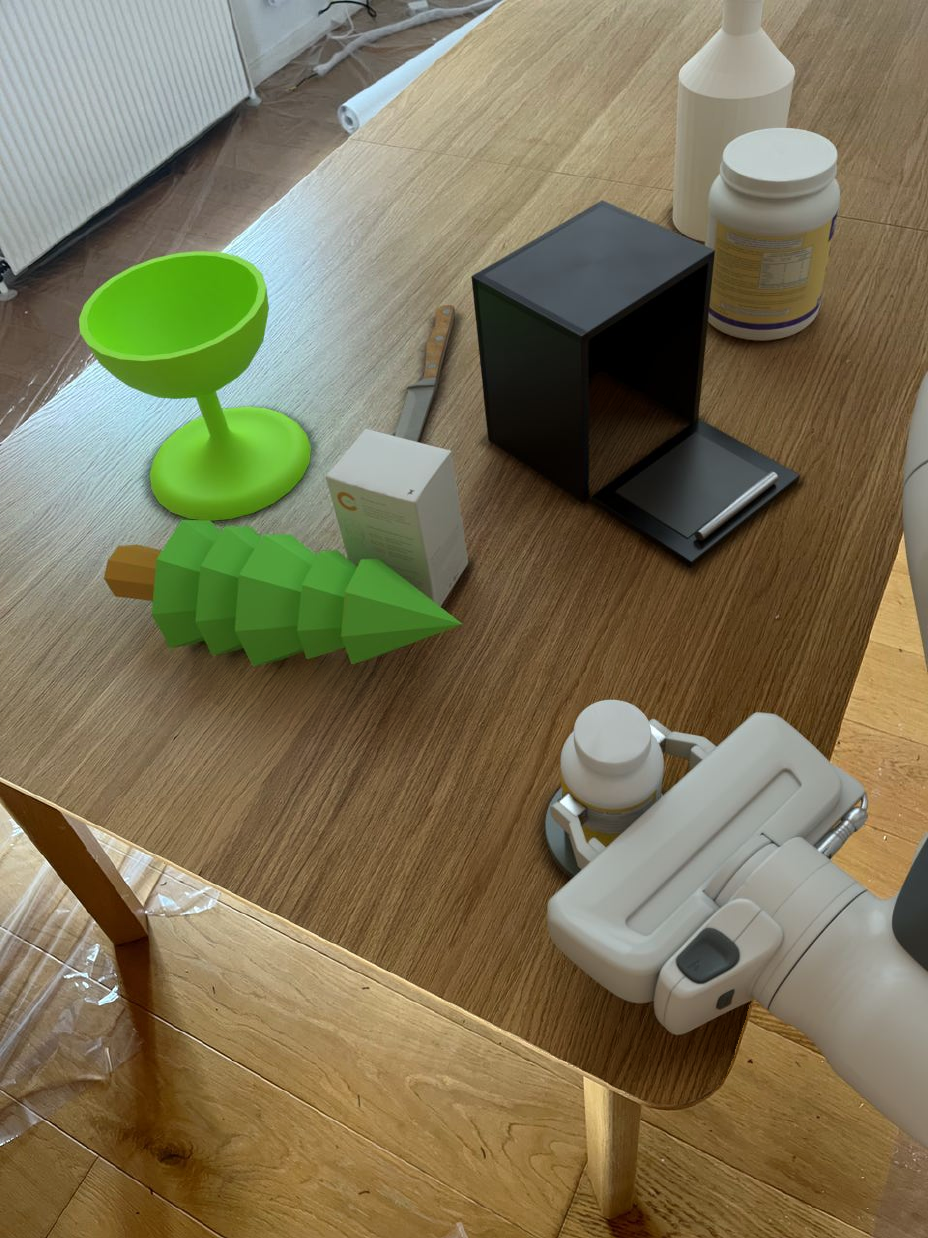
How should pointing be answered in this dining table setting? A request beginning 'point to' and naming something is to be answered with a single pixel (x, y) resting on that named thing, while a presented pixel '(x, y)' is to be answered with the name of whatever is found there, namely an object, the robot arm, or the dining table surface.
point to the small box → (401, 510)
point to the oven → (616, 374)
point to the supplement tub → (771, 232)
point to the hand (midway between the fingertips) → (601, 766)
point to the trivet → (560, 842)
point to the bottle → (725, 105)
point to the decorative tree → (271, 595)
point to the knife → (426, 378)
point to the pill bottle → (612, 767)
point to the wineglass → (198, 378)
